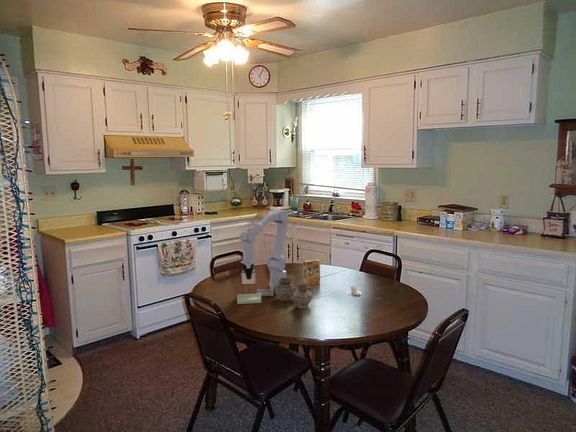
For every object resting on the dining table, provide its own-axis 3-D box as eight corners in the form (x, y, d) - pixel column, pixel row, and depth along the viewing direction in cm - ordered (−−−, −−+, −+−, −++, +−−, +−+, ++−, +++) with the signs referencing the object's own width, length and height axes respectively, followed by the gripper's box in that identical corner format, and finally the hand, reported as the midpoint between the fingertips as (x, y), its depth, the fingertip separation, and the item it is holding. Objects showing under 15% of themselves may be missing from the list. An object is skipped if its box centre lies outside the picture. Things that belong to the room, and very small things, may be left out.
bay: (273, 291, 235) (272, 284, 235) (273, 295, 229) (273, 288, 228) (256, 292, 234) (256, 285, 234) (256, 296, 228) (256, 289, 227)
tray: (260, 296, 227) (260, 293, 227) (261, 302, 218) (261, 299, 218) (237, 297, 226) (237, 294, 226) (237, 303, 217) (237, 300, 217)
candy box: (306, 288, 240) (306, 262, 238) (303, 286, 244) (303, 260, 242) (320, 286, 243) (320, 260, 241) (317, 284, 247) (317, 258, 245)
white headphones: (361, 297, 226) (361, 289, 225) (345, 296, 227) (345, 288, 227) (361, 291, 234) (361, 284, 234) (347, 291, 236) (347, 284, 235)
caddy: (255, 281, 232) (255, 269, 231) (255, 283, 228) (255, 271, 227) (241, 281, 231) (240, 270, 230) (241, 284, 227) (240, 272, 226)
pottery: (300, 312, 205) (300, 288, 203) (270, 298, 224) (269, 276, 222) (318, 306, 212) (318, 283, 210) (287, 294, 231) (286, 272, 229)
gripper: (241, 250, 234) (241, 274, 236) (240, 256, 220) (241, 282, 222) (253, 250, 235) (254, 273, 237) (254, 256, 220) (254, 281, 222)
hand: (248, 277), depth 229 cm, fingers closed on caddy, 4 cm apart
